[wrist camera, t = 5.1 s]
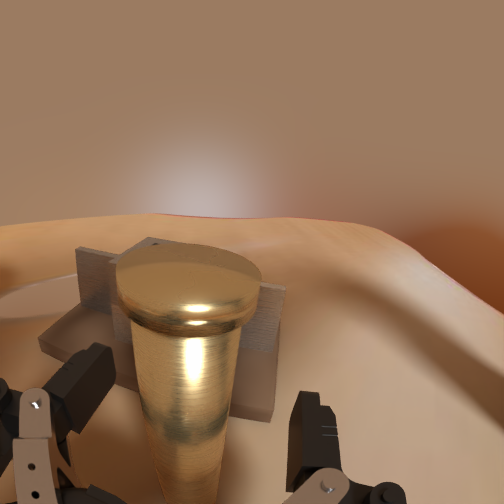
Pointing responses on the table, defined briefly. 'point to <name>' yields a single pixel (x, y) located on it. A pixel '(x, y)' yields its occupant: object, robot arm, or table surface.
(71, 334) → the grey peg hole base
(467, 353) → the table surface
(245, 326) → the grey winged socket holder
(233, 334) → the brass capped peg
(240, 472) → the table surface
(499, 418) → the table surface
